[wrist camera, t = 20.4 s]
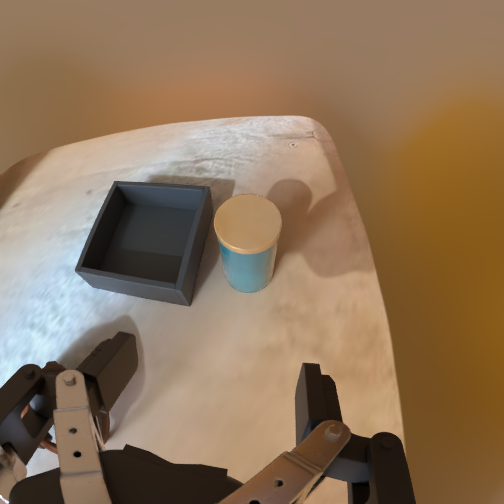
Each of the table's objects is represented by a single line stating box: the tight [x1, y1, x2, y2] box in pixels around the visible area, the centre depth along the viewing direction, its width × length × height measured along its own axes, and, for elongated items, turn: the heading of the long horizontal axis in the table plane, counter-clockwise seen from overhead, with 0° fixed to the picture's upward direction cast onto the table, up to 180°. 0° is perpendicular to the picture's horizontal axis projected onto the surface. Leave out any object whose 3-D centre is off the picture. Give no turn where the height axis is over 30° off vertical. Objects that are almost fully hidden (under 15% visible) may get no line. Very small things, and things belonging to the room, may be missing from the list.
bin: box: [75, 181, 213, 306], centre depth 28 cm, size 11×11×4 cm
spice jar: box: [214, 194, 282, 293], centre depth 25 cm, size 5×5×8 cm
